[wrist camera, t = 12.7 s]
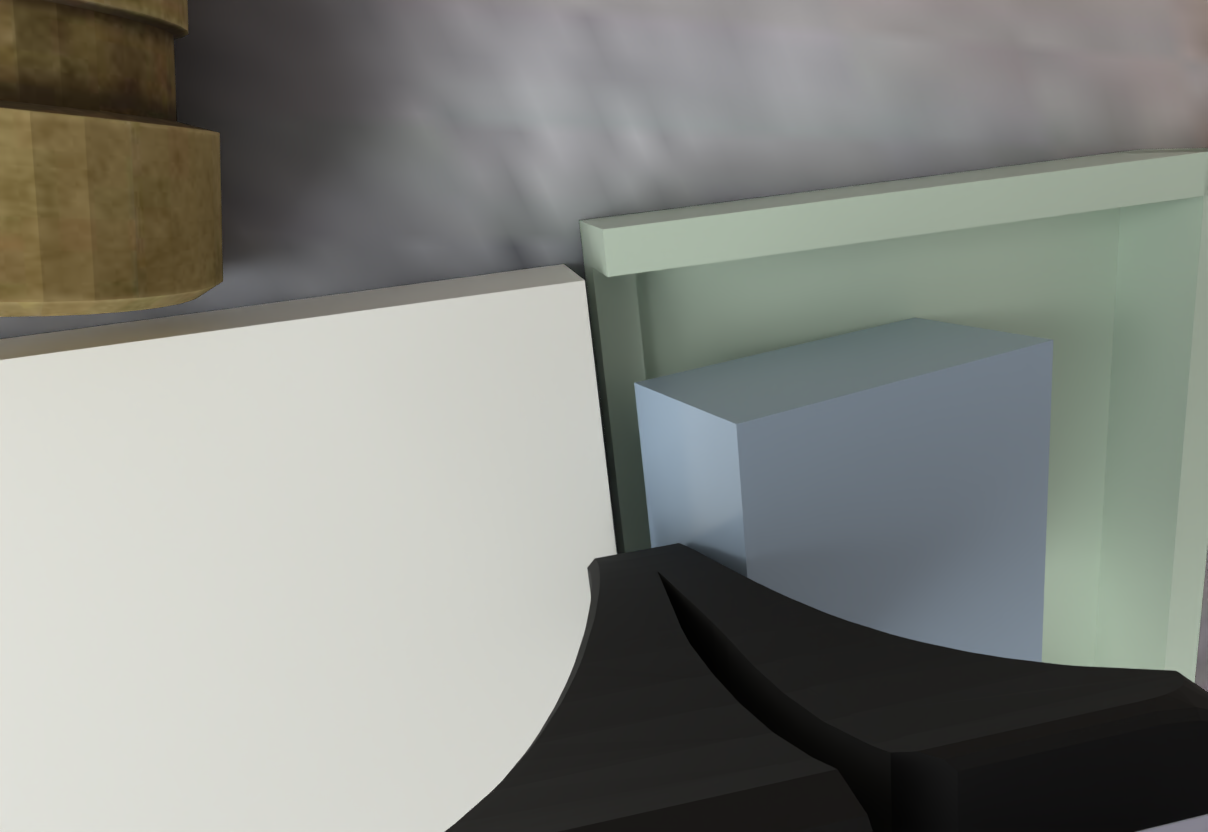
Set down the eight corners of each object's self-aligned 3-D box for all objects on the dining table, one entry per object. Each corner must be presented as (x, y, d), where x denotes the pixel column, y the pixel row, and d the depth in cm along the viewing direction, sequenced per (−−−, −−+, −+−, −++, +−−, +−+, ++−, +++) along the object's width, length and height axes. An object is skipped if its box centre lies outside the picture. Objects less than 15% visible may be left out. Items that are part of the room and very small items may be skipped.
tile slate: (917, 600, 15) (1041, 666, 13) (667, 698, 13) (763, 796, 11) (914, 317, 14) (1053, 339, 12) (634, 382, 12) (736, 424, 10)
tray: (1088, 970, 19) (1159, 1058, 17) (678, 1079, 18) (707, 1187, 16) (1138, 149, 14) (1245, 146, 12) (578, 220, 13) (603, 229, 11)
